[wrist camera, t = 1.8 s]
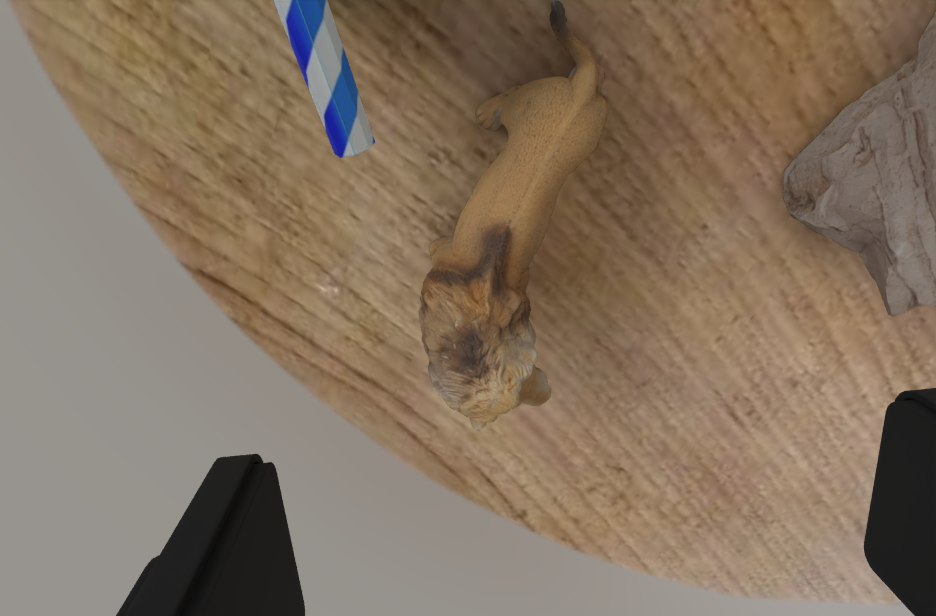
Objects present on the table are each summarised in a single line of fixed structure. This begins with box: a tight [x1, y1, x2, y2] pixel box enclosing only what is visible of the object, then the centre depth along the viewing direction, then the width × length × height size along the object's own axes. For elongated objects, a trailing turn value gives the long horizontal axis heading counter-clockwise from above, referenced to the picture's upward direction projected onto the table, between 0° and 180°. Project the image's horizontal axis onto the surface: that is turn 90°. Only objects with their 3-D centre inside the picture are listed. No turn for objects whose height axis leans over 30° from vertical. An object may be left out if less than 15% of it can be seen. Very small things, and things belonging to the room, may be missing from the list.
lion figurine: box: [419, 0, 607, 431], centre depth 22 cm, size 15×5×9 cm, turn 166°
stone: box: [783, 11, 936, 317], centre depth 23 cm, size 15×9×10 cm
